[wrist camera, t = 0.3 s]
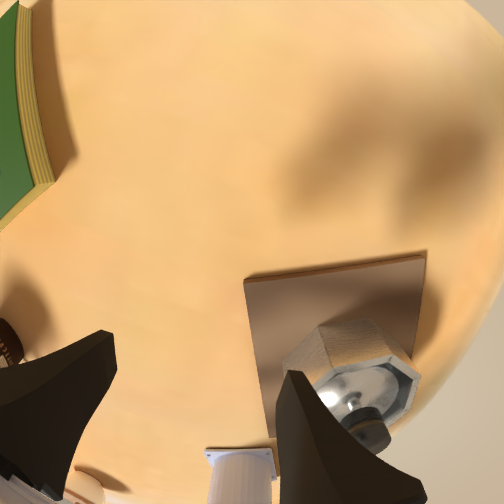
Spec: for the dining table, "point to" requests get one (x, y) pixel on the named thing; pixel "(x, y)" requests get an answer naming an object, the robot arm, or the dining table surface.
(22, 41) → the hardcover book
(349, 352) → the silver octagonal piece
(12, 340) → the coffee mug
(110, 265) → the dining table surface
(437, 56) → the dining table surface
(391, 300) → the serving board
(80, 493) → the lidded jar
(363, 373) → the grey knobbed lid
